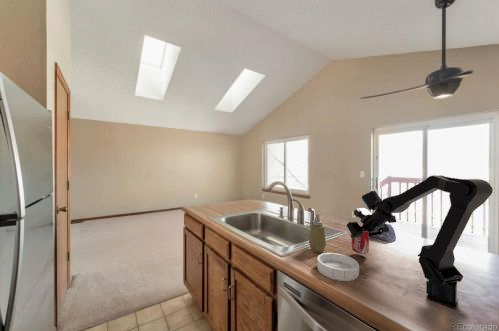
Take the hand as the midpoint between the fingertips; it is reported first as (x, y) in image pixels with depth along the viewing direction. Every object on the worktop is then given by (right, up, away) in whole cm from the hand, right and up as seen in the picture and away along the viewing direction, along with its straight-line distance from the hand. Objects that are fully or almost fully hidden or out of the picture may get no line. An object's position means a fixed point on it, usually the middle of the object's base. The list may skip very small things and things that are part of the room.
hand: (357, 236), depth 98 cm
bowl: (-16, -8, -16) cm, 24 cm away
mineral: (+25, -9, +23) cm, 35 cm away
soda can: (0, -7, -1) cm, 7 cm away
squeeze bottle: (-18, -8, +4) cm, 20 cm away
